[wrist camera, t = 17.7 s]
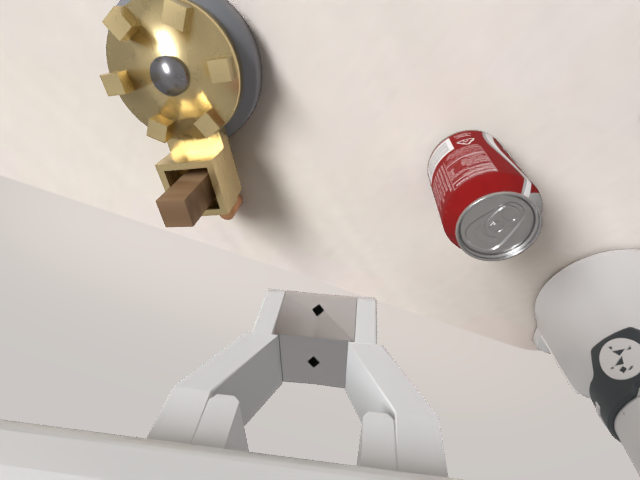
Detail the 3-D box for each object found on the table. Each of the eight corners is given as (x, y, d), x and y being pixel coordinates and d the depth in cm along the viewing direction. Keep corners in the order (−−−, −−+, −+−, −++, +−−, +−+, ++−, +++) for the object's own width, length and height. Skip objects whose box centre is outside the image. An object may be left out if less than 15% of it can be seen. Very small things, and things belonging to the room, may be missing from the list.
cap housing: (317, 59, 31) (312, 64, 29) (239, 208, 41) (230, 222, 38) (140, -59, 28) (117, -64, 26) (99, 132, 38) (80, 142, 35)
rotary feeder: (270, 190, 37) (258, 212, 33) (169, 197, 38) (147, 218, 35) (223, -17, 27) (199, -19, 24) (94, 5, 29) (53, 7, 25)
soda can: (411, 169, 36) (426, 235, 26) (464, 112, 32) (503, 164, 23) (462, 206, 38) (493, 282, 28) (517, 155, 34) (576, 222, 24)
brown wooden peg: (222, 188, 35) (193, 226, 30) (199, 189, 36) (165, 227, 30) (216, 165, 34) (184, 200, 28) (192, 166, 34) (155, 201, 29)
